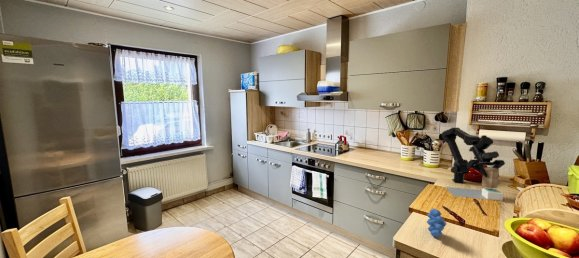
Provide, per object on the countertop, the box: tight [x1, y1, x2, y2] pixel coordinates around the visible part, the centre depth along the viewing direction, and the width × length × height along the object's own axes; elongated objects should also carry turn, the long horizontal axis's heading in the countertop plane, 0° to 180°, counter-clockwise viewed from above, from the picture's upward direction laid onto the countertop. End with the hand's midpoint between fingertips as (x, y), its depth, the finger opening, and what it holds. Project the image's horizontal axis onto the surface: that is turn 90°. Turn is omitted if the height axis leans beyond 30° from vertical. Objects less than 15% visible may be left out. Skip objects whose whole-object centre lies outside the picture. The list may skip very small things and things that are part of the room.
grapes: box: [426, 208, 447, 238], centre depth 99 cm, size 12×7×12 cm, turn 169°
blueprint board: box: [444, 186, 504, 203], centre depth 145 cm, size 16×24×5 cm, turn 74°
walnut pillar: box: [481, 166, 500, 189], centre depth 139 cm, size 5×5×11 cm
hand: (492, 176), depth 138 cm, fingers closed on walnut pillar, 6 cm apart
